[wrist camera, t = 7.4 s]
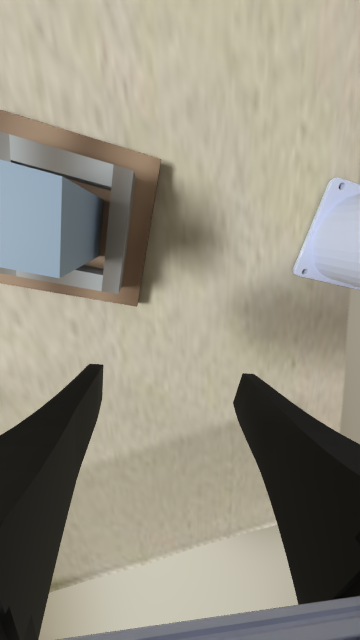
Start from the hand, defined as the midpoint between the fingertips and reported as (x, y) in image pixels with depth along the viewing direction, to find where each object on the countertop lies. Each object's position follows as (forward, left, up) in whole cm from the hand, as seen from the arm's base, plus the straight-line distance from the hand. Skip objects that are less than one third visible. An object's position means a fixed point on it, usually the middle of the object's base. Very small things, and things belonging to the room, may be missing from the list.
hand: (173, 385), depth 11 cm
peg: (+8, -6, -9) cm, 14 cm away
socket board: (+8, -6, -10) cm, 14 cm away
